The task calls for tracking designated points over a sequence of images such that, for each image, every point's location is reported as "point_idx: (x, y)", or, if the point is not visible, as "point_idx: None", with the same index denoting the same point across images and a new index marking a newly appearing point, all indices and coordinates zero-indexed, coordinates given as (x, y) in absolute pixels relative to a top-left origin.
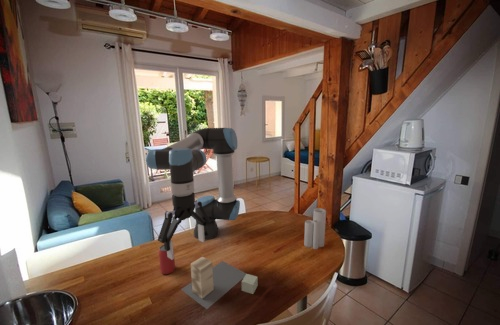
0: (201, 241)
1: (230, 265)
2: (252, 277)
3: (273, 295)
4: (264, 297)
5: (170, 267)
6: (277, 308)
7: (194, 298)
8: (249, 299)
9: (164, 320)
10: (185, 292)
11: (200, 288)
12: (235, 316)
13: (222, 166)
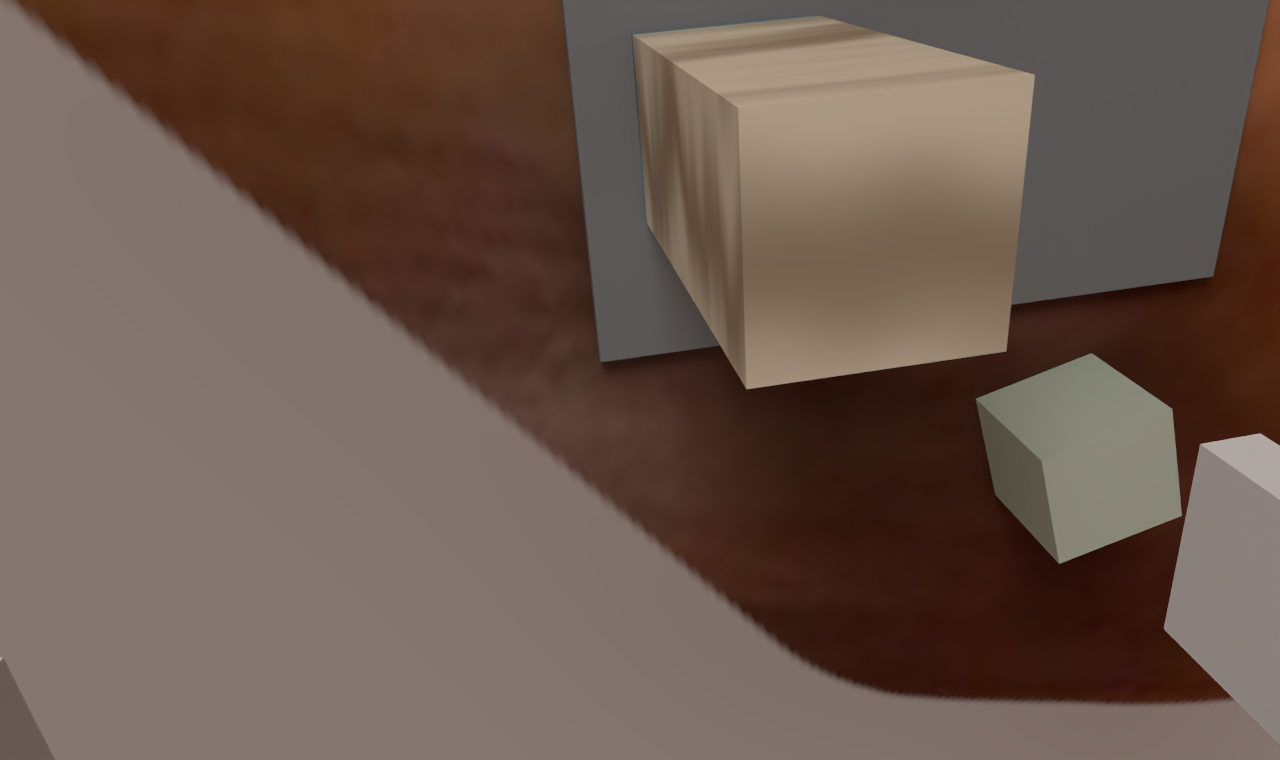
0: (1180, 568)
1: None
2: (1147, 491)
3: (1084, 595)
4: (1028, 566)
5: None
6: (986, 686)
7: (591, 144)
8: (940, 506)
9: (190, 152)
10: None
11: (669, 244)
12: (731, 557)
13: None
